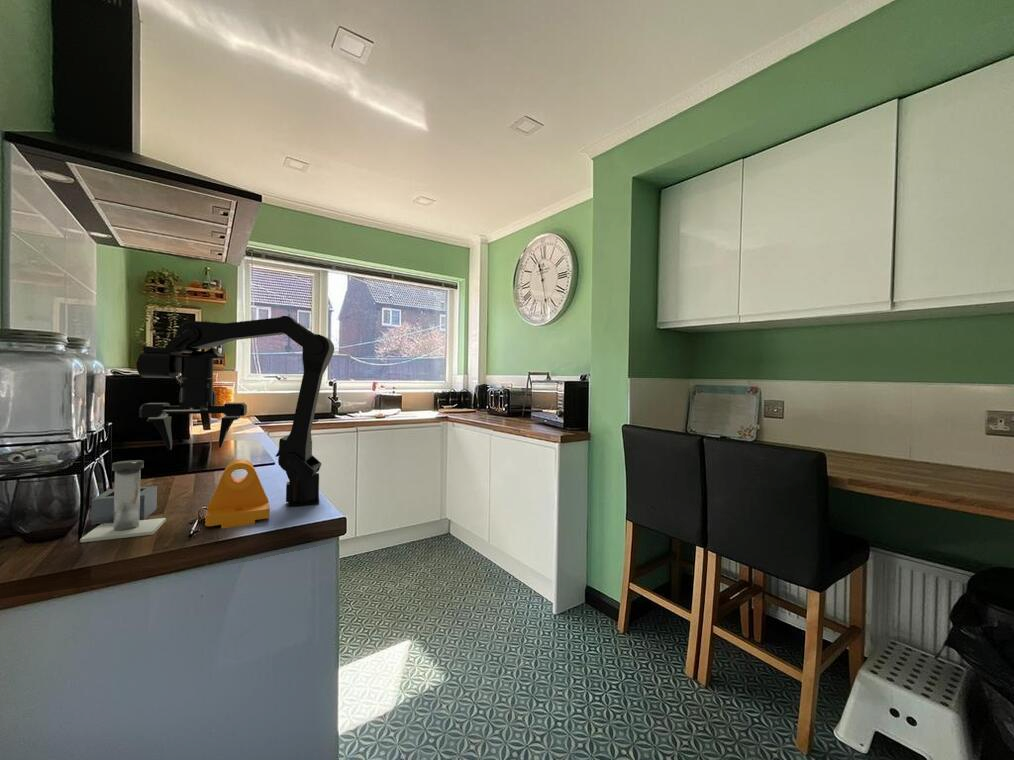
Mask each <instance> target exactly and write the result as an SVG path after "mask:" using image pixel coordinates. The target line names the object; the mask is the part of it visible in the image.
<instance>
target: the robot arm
mask: <svg viewBox="0 0 1014 760" xmlns="http://www.w3.org/2000/svg"><path fill="white" fill-rule="evenodd" d="M281 335H286V336H287V337H288V338H289V339H291V340H292V341H294V342H295V343H296V344H298V345H299V346H300V347H302V355H301V356H302V358H301V359H302V367H303V374H302V378H301V384H300V389H299V394H298V399H297V402H296V408H295V410H294V416H293V421H292V426H291V430H290V433H289V434H288V435H285V436H282V437H281V438H280V439H279V442H278V451H277V453H276V454H275V457H277V461H278V465H279V466H280V468H281V469H282V470H283V471H285V473H286V476H287V478H288V480H289V481H287V482H286V488H285V489H286V491H285V502H286V503H287V506H288V507H296V506H306V505H307V506H309V505H315V504H317V505H318V504H320V473H319V472H320V469H321V466H322V462H321V461H320V460H318V459H317V458H316V457H315V456H314V455H313V439H312V429H313V428H312V427H313V423H314V419H315V418H314V417H315V413H316V409H317V404H318V400H319V395H320V390H321V385H322V380H323V376H324V374H325V372H326V370H327V368H328V366H329V365H330V362H331V360H332V357H333V354H334V353H335V344H334V343H333V341H332V340H331V339H329V338H328V337H327V336H324V335H322V334H317V333H314V332H313V331H311V330H309V329H308V328H306V327H305V326H303V325H302V324H301V323H300V322H298V321H297V319H295V318H294V317H291V316H289V315H282V316H279V317H270V318H261V319H250V320H244V321H243V320H242V321H231V322H214V321H201V320H200V321H198V320H196V321H195V320H187V321H184V322H183V323H182V324H181V325H180V326H179V327H178V330H177V334H176V335H175V336H174V337H173V338H172V339H171V340H170V341H169V342H168V344H166V346H165V347H157V346H148V345H147V346H145V345H144V346H143V348H142V349H143V350H142V352H141V353H139V357H138V359H137V360H136V363H135V365H136V366H135V367H136V371H137V374H139V376H140V377H142V378H150V379H151V378H159V379H160V378H161V379H162V378H163V379H175V378H177V377H178V376H179V374H180V377H181V378H180V391H179V394H178V401H179V405H171V404H170V403H169V402H148V403H143V404H142V405H140V407H139V409H138V418H143V419H144V418H145V419H146V418H147V419H146V422H149V423H150V422H151V423H152V424H153V425H154V426H155V427H156V429H157V431H158V432H159V434H160V435H161V437H162V439H163V442H164V443H165V446H166V447H167V450H170V451H171V450H172V449H173V435H172V416H169V415H191V414H193V415H197V414H198V415H201V414H212V415H213V414H223V415H224V416H223V417H222V418H221V422H220V430H219V438H218V447H219V448H221V449H222V447H223V445H224V442H225V440H226V437H227V435H228V433H229V430H230V428H231V426H232V424H233V423H234V421H238V420H239V419H240V418H241V417H244V416H246V415H247V414H248V405H247V404H246V403H245V402H226V403H223V405H216V403H217V394H216V393H215V391H214V385H213V383H214V360H215V359H216V360H224V359H225V356H224V355H223V354H222V353H221V352H220V351H218V349H217V347H218V346H222V345H224V344H227V343H229V342H233V341H238V340H246V339H257V338H264V337H271V336H272V337H273V336H281ZM205 350H207V351H205ZM183 353H186V354H188V355H186V354H183ZM189 407H190V409H186V408H189Z"/></svg>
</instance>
